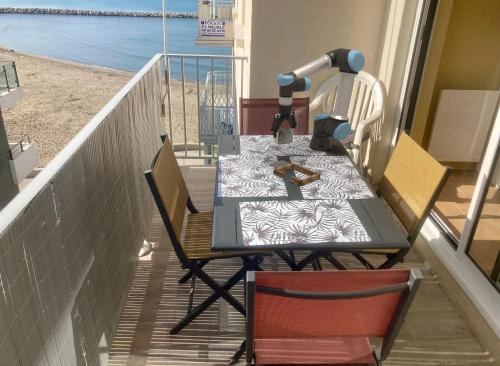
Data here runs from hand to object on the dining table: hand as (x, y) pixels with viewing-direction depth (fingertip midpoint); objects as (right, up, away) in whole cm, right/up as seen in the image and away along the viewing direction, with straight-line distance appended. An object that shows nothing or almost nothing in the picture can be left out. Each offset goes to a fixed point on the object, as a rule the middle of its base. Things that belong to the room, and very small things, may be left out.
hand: (283, 140), depth 242 cm
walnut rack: (+7, -21, -8) cm, 24 cm away
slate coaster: (0, -14, +6) cm, 16 cm away
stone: (+1, -1, +1) cm, 2 cm away
